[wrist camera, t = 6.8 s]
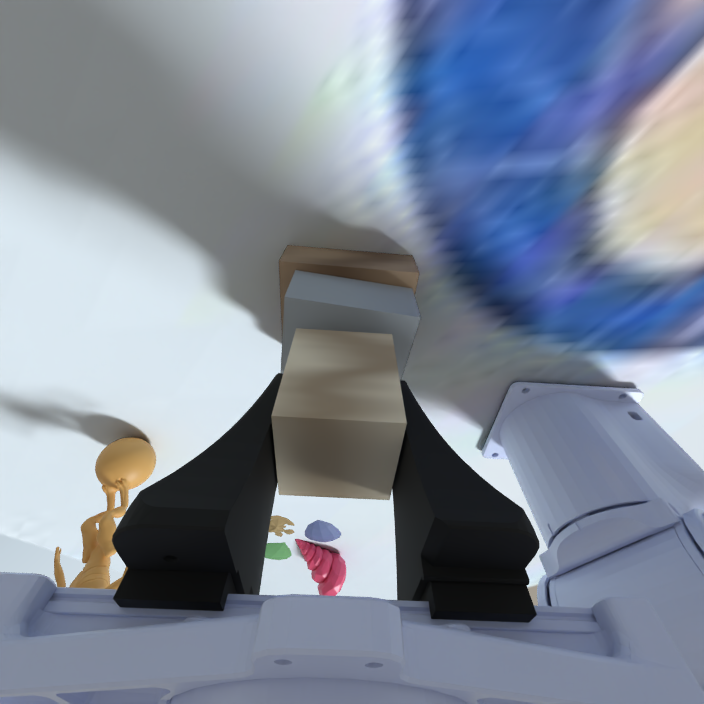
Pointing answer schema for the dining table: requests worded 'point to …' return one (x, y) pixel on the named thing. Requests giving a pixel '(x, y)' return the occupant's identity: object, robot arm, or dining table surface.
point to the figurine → (109, 510)
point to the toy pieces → (312, 553)
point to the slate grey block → (350, 310)
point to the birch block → (339, 416)
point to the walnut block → (347, 267)
